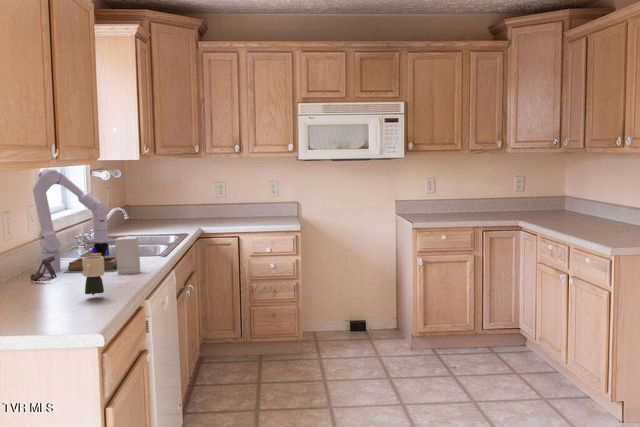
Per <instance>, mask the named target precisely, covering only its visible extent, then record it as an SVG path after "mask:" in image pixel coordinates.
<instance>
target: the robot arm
mask: <svg viewBox="0 0 640 427" xmlns="http://www.w3.org/2000/svg"><path fill="white" fill-rule="evenodd" d="M54 185H59V186H63V187H64V188H65V189H66V190H68V191H69V192H71V193H72V194H74V195H75V196H76V197H77V198H78V202H79V203H80V204H81V205H83V206H84V207H85V208H87V209H88V210H89V211H91V213H92V214H93V221H92V222H93V238H91V239H84V240H83V245H85V246H86V245H93V248H95V249H96V251H97V253H101V255H102V256H103V257H106V256H105V253H106V250H107V248H108V245H111V244H112V245H115V240H116V239H117V238H109V234H108V216H107V215H108V213H109V211H110V210H109V208H108V206H107V205H106V204H105V203H102V200H101V199H98V198H96V197H95V196H94V195H93V192H91V191H88V190H86V191H83V190H82V188H80V187H79V186H77V185H76V183H74V182H73V181H72V180H70V179H69V177H67V176H66V175H65V174H62V173H61V172H59V171H58V170H57V169H55V168H45V169H43V170H42V171H40V172H39V173H38V175H37V177H36V180H35V182H34V184H33V187H32V194H33V198H34V202H35V207H36V212H37V216H38V217H37V218H38V223H39V228H40V241H39V244H40V247H41V248H42V249H41V250H40V252H41V254H40V255H39V258H38V268H39V267H40V265H41V263H42V260H44V259H46V258H48V257H51V256H54V257H55V260H54V261H52V262H51V266H52V268H53V270H54V272H55V274H57V273H59V272H61V271H63V270H64V268H61V254H60V253H61V252H60V250H61V249H60V247H61V242H60V239H58V237H57V234H56V230H55V229H54V225H53V220H52V214H51V210H50V209H51V208H50V206H49V200H48V196H47V192H48V191H49V189H50V188H51V187H52V186H54ZM44 267H45V265H44V264H43V265H42V268H41V270H40V273H41V274H42V272H43V270H44ZM44 274H50V273H49V271H48V269H47V267H46V270H45V272H44Z"/></svg>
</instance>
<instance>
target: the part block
mask: <svg viewBox="0 0 640 427" xmlns="http://www.w3.org/2000/svg"><path fill="white" fill-rule="evenodd" d="M88 255H89V256H88V257H90V256H102V255H101V253H93V252H92V253H90V254H88Z"/></svg>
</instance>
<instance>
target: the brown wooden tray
mask: <svg viewBox="0 0 640 427" xmlns="http://www.w3.org/2000/svg"><path fill="white" fill-rule="evenodd" d="M82 258H83V257H79V258H76V259H74V260H72V261H70V262H68V267H67V269H68V270H69V271H75V270H83V266H82ZM113 269H117V257H116V256H105V257H104V270H113ZM68 270H67V271H68Z"/></svg>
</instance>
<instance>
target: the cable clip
mask: <svg viewBox="0 0 640 427" xmlns="http://www.w3.org/2000/svg"><path fill="white" fill-rule="evenodd" d="M109 245H110V244H109ZM109 245H108V248H107V250H106V253H105V257H108V256H109V255H110V253H109V252H110V250H109V249H110V248H109ZM92 253H97V251H96V249H95V248H94V247H92Z"/></svg>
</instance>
